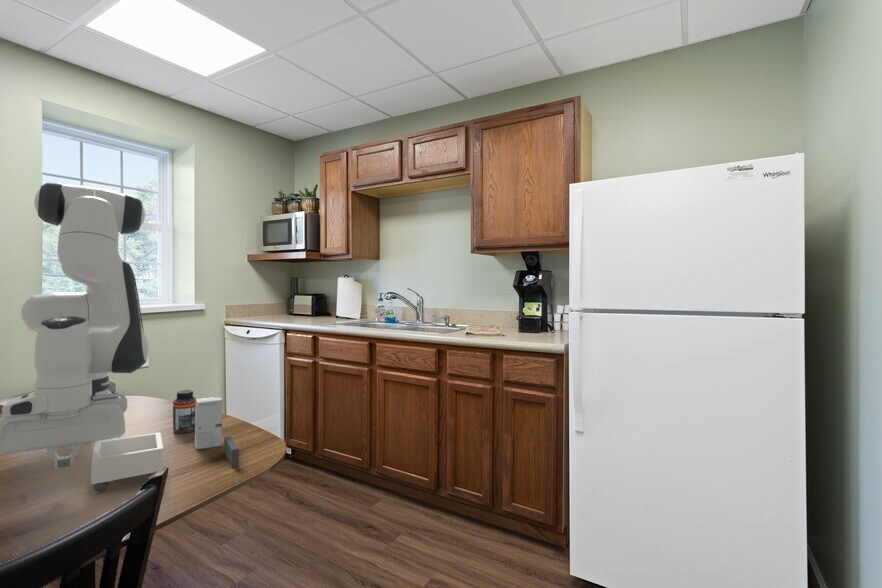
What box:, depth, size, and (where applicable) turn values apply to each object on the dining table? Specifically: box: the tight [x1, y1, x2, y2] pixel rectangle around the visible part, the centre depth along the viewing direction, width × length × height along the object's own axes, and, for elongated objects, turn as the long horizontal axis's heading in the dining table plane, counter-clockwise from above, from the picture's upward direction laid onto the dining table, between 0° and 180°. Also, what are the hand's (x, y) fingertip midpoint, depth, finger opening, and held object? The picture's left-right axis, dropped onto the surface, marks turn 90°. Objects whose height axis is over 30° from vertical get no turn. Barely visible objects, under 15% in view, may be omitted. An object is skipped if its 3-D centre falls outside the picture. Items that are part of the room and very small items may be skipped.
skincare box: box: [194, 396, 224, 450], centre depth 117 cm, size 6×4×12 cm
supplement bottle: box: [172, 389, 197, 434], centre depth 128 cm, size 6×6×11 cm
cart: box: [90, 431, 164, 493], centre depth 96 cm, size 12×12×7 cm
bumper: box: [223, 436, 240, 468], centre depth 108 cm, size 10×2×4 cm, turn 35°
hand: (64, 466), depth 90 cm, fingers closed
